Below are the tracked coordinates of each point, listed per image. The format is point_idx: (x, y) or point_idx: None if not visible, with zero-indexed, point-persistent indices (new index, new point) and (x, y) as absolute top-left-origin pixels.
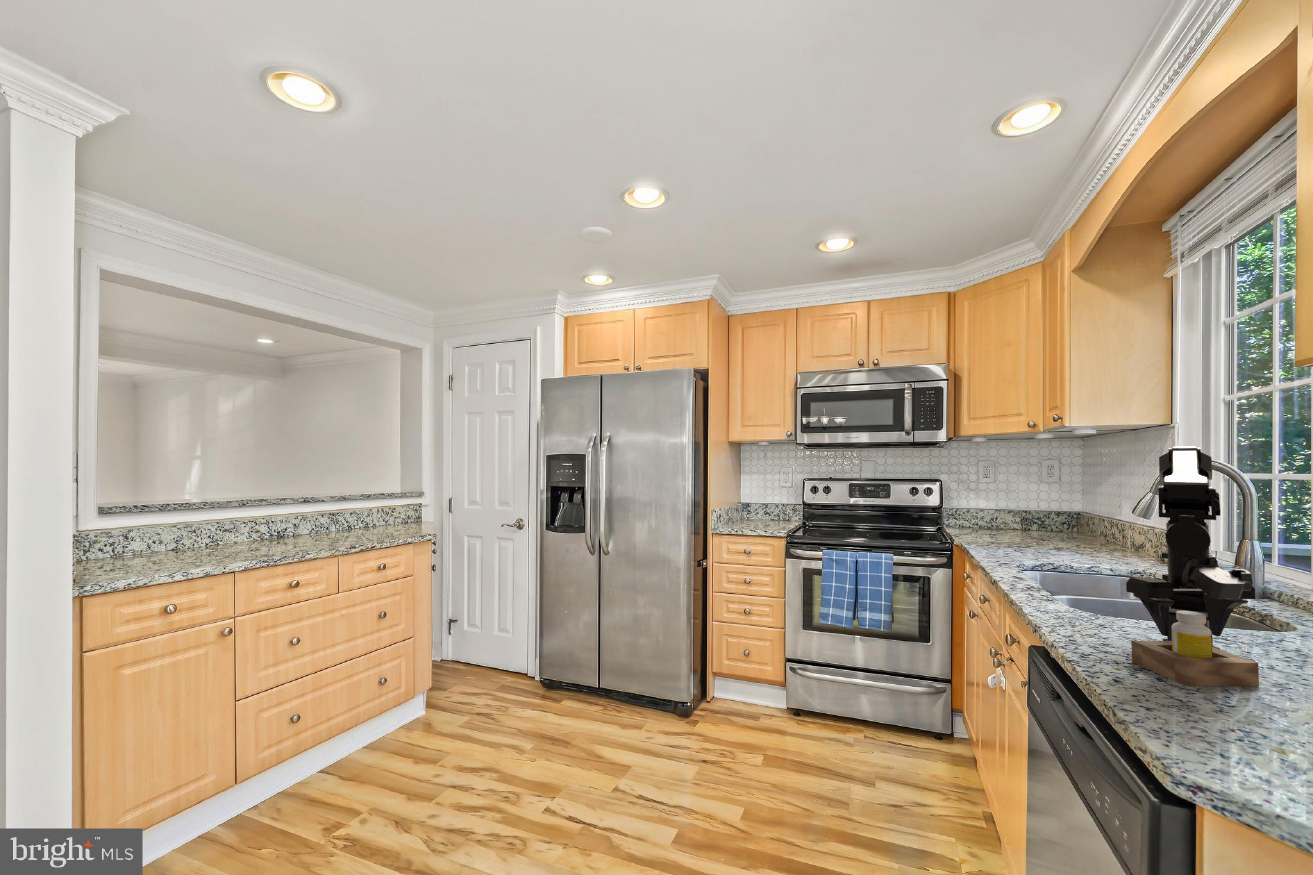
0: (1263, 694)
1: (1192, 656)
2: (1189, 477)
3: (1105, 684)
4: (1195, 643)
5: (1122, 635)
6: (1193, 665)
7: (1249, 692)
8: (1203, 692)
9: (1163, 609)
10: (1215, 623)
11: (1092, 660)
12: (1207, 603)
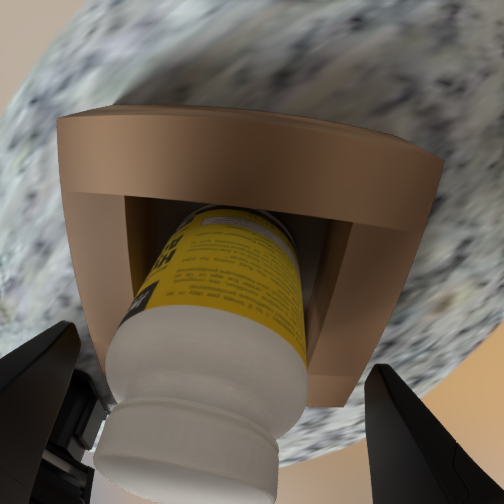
0: (175, 28)
1: (282, 251)
2: None
3: None
4: (268, 288)
5: None
6: (408, 148)
7: (209, 46)
8: (402, 75)
9: (488, 497)
10: (44, 385)
11: (427, 360)
12: (21, 494)
